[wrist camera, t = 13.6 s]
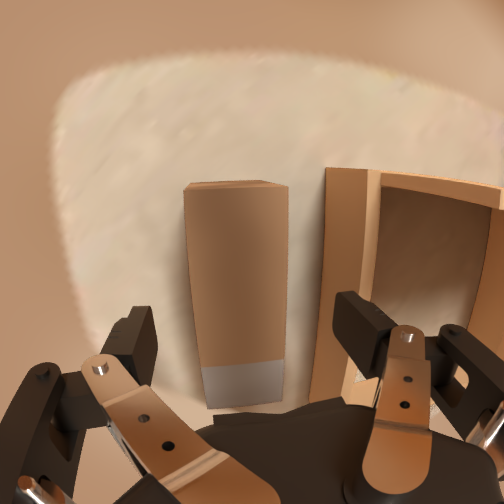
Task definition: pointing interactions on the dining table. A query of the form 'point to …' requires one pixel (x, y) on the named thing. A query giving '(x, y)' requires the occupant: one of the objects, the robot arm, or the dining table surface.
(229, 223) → the box
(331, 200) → the carton
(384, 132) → the dining table surface
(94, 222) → the dining table surface
